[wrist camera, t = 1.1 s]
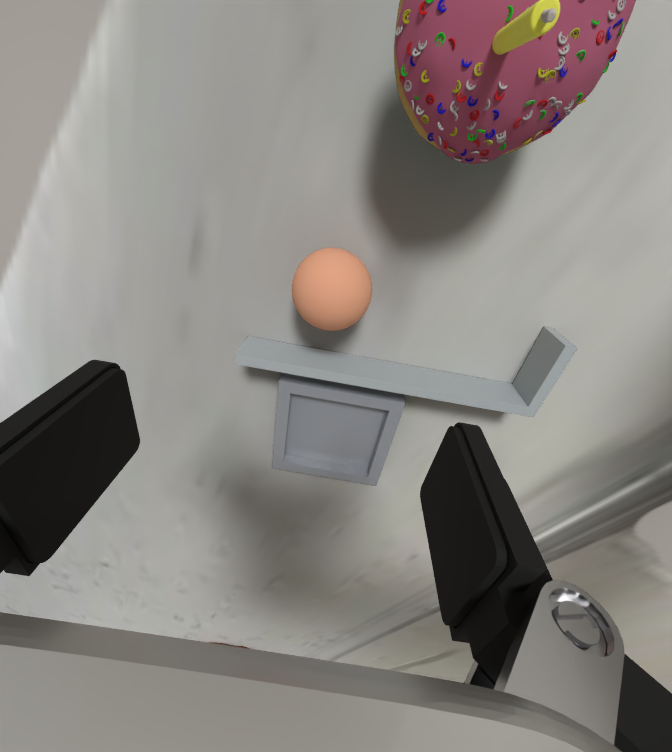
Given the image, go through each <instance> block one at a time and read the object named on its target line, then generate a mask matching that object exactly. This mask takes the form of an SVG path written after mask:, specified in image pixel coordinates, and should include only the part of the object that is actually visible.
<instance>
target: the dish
mask: <svg viewBox="0 0 672 752" xmlns="http://www.w3.org/2000/svg"><path fill="white" fill-rule="evenodd" d="M404 405H405V399H404V394H399V393H394V392H388V391H383V390H377V389H371V388H366V387H360V386H355V385H349V384H343V383H338V382H332V381H327V380H321V379H315V378H310V377H304V376H299V375H293V374H287V373H282V374H281V377H280V379H279V384H278V397H277V409H276V422H275V434H274V446H273V459H272V468H274V469H280V470H286V471H292V472H297V473H303V474H309V475H315V476H321V477H326V478H332V479H338V480H344V481H350V482H356V483H361V484H367V485H373V486H376V485H377V482H378V480H379V477H380V474H381V471H382V468H383V465H384V462H385V460H386V457H387V454H388V451H389V448H390V445H391V442H392V440H393V437H394V434H395V431H396V428H397V425H398V422H399V420H400V417H401V414H402V411H403V408H404Z"/></svg>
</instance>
